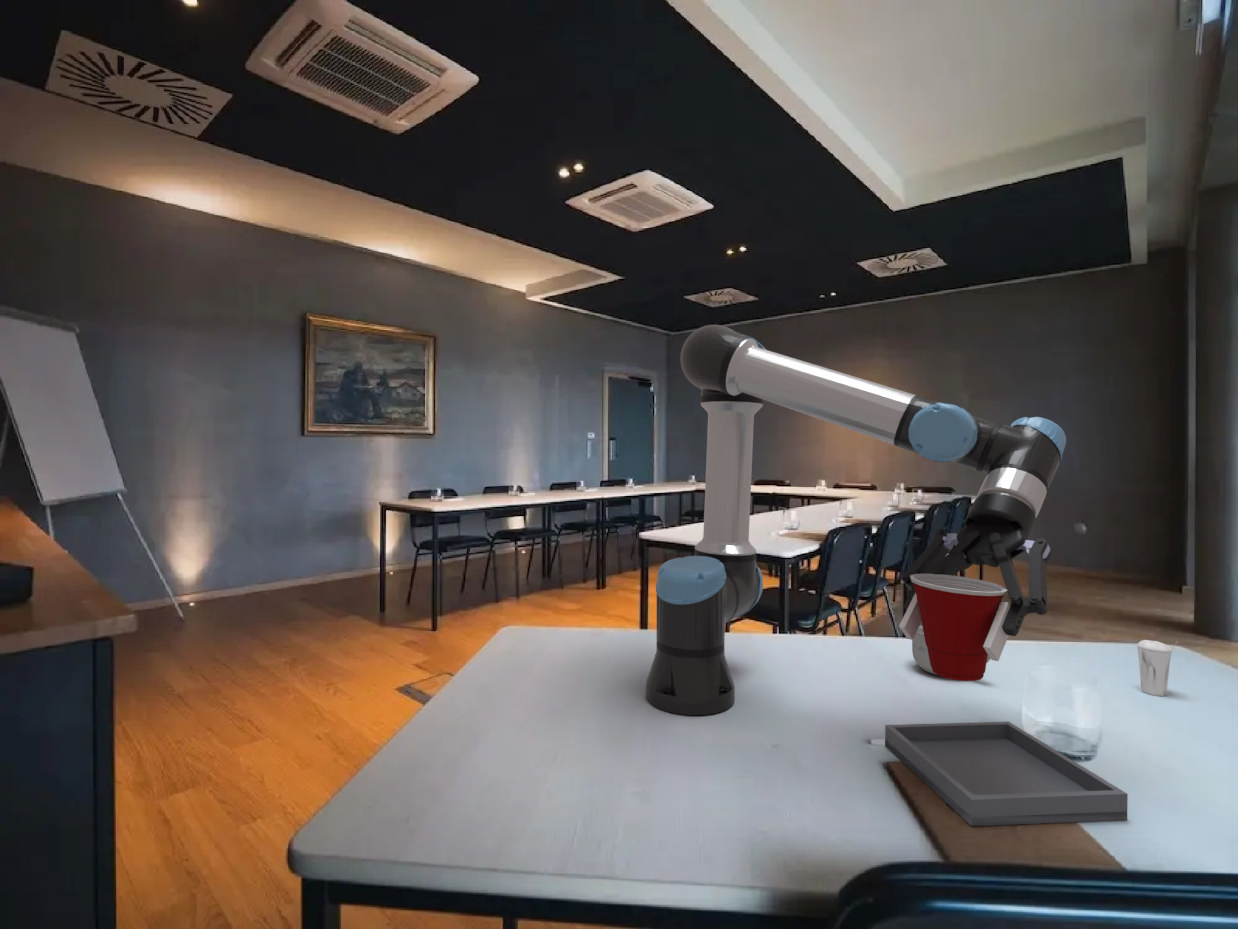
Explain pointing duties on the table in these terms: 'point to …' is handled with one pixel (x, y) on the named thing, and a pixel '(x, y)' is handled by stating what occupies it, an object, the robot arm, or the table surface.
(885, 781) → the table surface
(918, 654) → the teacup
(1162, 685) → the milkshake
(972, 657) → the plastic cup
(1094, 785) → the grey shallow square tray
